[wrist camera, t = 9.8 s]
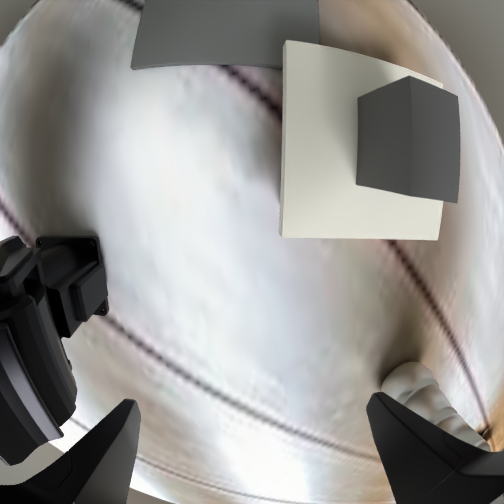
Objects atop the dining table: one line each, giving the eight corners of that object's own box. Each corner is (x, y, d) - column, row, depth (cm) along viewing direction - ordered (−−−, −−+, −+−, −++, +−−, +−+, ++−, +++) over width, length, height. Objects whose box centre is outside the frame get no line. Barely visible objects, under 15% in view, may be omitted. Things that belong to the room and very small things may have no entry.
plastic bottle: (377, 404, 26) (443, 531, 7) (369, 373, 24) (456, 527, 5) (421, 378, 26) (500, 490, 7) (420, 343, 24) (524, 471, 5)
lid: (278, 233, 15) (307, 273, 10) (282, 46, 12) (311, -8, 6) (429, 236, 16) (488, 264, 10) (433, 86, 13) (493, 72, 7)
